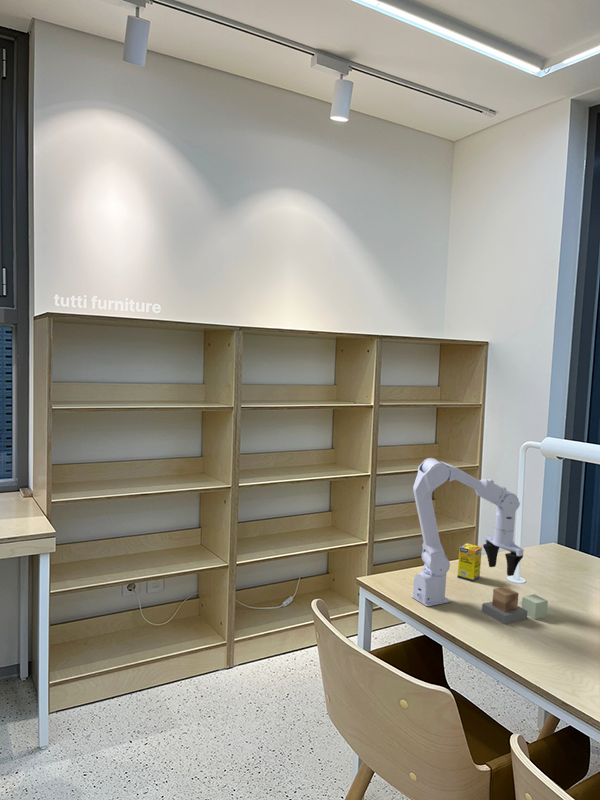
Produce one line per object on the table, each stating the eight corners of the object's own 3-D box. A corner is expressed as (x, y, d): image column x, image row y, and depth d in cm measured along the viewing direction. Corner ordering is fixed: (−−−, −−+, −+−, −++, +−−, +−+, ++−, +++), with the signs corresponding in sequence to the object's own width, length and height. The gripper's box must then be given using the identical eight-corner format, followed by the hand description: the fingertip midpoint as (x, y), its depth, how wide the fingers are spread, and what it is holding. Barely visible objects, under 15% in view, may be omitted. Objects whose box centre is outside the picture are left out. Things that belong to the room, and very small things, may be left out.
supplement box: (473, 582, 202) (476, 550, 201) (456, 577, 205) (459, 546, 204) (480, 577, 207) (482, 546, 206) (463, 572, 210) (465, 542, 209)
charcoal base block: (504, 626, 171) (505, 615, 171) (481, 613, 179) (482, 603, 179) (526, 620, 175) (527, 610, 175) (503, 608, 183) (504, 599, 183)
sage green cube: (534, 619, 175) (535, 603, 175) (521, 612, 180) (522, 596, 179) (546, 616, 177) (547, 600, 177) (533, 610, 182) (534, 594, 181)
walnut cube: (504, 612, 173) (505, 595, 173) (492, 605, 178) (493, 588, 177) (517, 609, 176) (518, 593, 175) (504, 602, 180) (505, 586, 180)
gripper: (531, 534, 182) (528, 577, 183) (496, 521, 194) (493, 561, 196) (515, 536, 178) (511, 580, 180) (480, 523, 191) (477, 564, 192)
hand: (501, 570), depth 187 cm, fingers open, 7 cm apart
